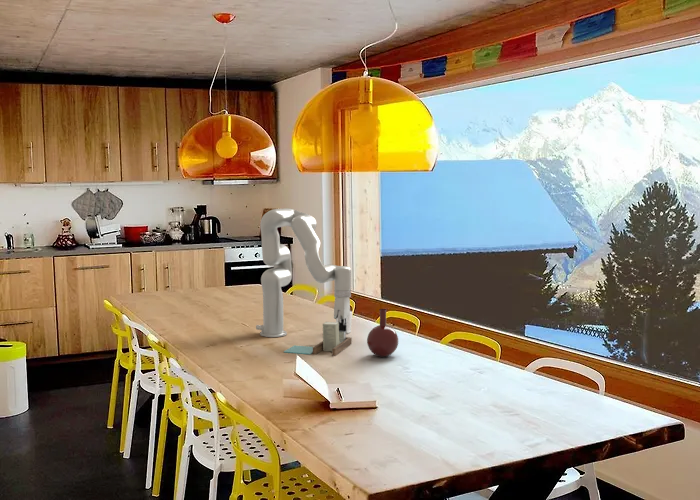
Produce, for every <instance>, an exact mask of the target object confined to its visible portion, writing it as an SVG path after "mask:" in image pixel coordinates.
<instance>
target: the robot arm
mask: <svg viewBox="0 0 700 500" xmlns="http://www.w3.org/2000/svg"><path fill="white" fill-rule="evenodd" d="M259 226H260V235H261V251H262V252H261V253H262V261H263V263H264V264H265V265H267V266H269V267H270V266H273V268H268V269H266V270H265V271H264V272H263V273H262V275H261V277H260V283H261V289H262V309H263V310H262V315H263V316H262V321H263V324H256V325H255V329H256V330H257V331H259V330H260V333H259V335H260V336H261V337H265V338H279V337H280V338H281V337H284V336H286V335H287V334H288V332H287V331H286V330H284V294H283V293H284V292H283V290H282V287H283V288H284V287H286V286H288V285H289V284H290V282H291V281H292V278H293V272H292V271H293V269H292V268H293V266H292V255H291V251H290V249H289V248H288V246H286V245H285V244H283V243H281V242H280V239H281V238H280V233H279V230H278V228H283V227H290V228H291V230H292V232H293V233H294V235H295V237H296V239H297V241H298V242H299V244H300V246H301V248H302V250H303V251H304V259H305V265H306V266H307V269H308V271H309V273H310V274H311V276H312V278H313V279H314V280H315V281H316V282H318V283H320V284H324V283H328V282H332V281H334V283H333V284H334V286H333V287H334V290H333V291H334V292H333V293H334V295H333V297H334V306H333V319H335V320H336V319H337V318H338V322H339V331H346V325H345V324H347V317H348V316H349V315H350V311H351V307H350V306H351V301H350V298H351V297H352V268H351V267H350V266H347V265H345V266H344V265H335V264H326V265H324V264H323V262H322V261H321V259H320V255H319V249H320V247H321V240H320V238H319V237H318V235H317V233H316V232H315V230H316V227H317V220H316V218H315V217H314V216H312V215H311V214H309V213H306V212H303V211H299V210H297V209H293V208H289V207H288V208H287V207H286V208H285V207H284V208H273V209H271V210H269V211H267V212H265V214H263V216H262V217H261V220H260V225H259Z"/></svg>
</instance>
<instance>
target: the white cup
mask: <svg viewBox="0 0 700 500" xmlns="http://www.w3.org/2000/svg"><path fill="white" fill-rule="evenodd" d="M352 317H353V311H352V310H350V315H349V316H348V317H347V324H345V325H346V334H351V333H352V323H353V322H352V321H353V319H352ZM335 322H338V318H337V319H335Z"/></svg>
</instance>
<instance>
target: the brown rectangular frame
mask: <svg viewBox="0 0 700 500" xmlns="http://www.w3.org/2000/svg"><path fill="white" fill-rule="evenodd" d="M352 339H353V338H352V337H349V336H348V337H347V336H346V340H345V341H343V342H342V343H340V344H339V345H337V346H336V347H335V348H333V349H332V351H331V352H332V355H331V356H332V357H336V356H337V355H339V354H340V353H341V352H343V351H344V350H346V349H347V348H348V347H350V346H351V345H352V342H353V341H352ZM312 347H313V353H312V355H317V354H319V353H320V352H321V351H323V340H322V341H321V342H319V343H317V344H316V345H314V346H312Z"/></svg>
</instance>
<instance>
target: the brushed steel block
mask: <svg viewBox="0 0 700 500" xmlns="http://www.w3.org/2000/svg"><path fill="white" fill-rule="evenodd" d="M346 335H347V333H346V331H339V344H340V343H342V342H343V341H345V340H346V337H347V336H346Z"/></svg>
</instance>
